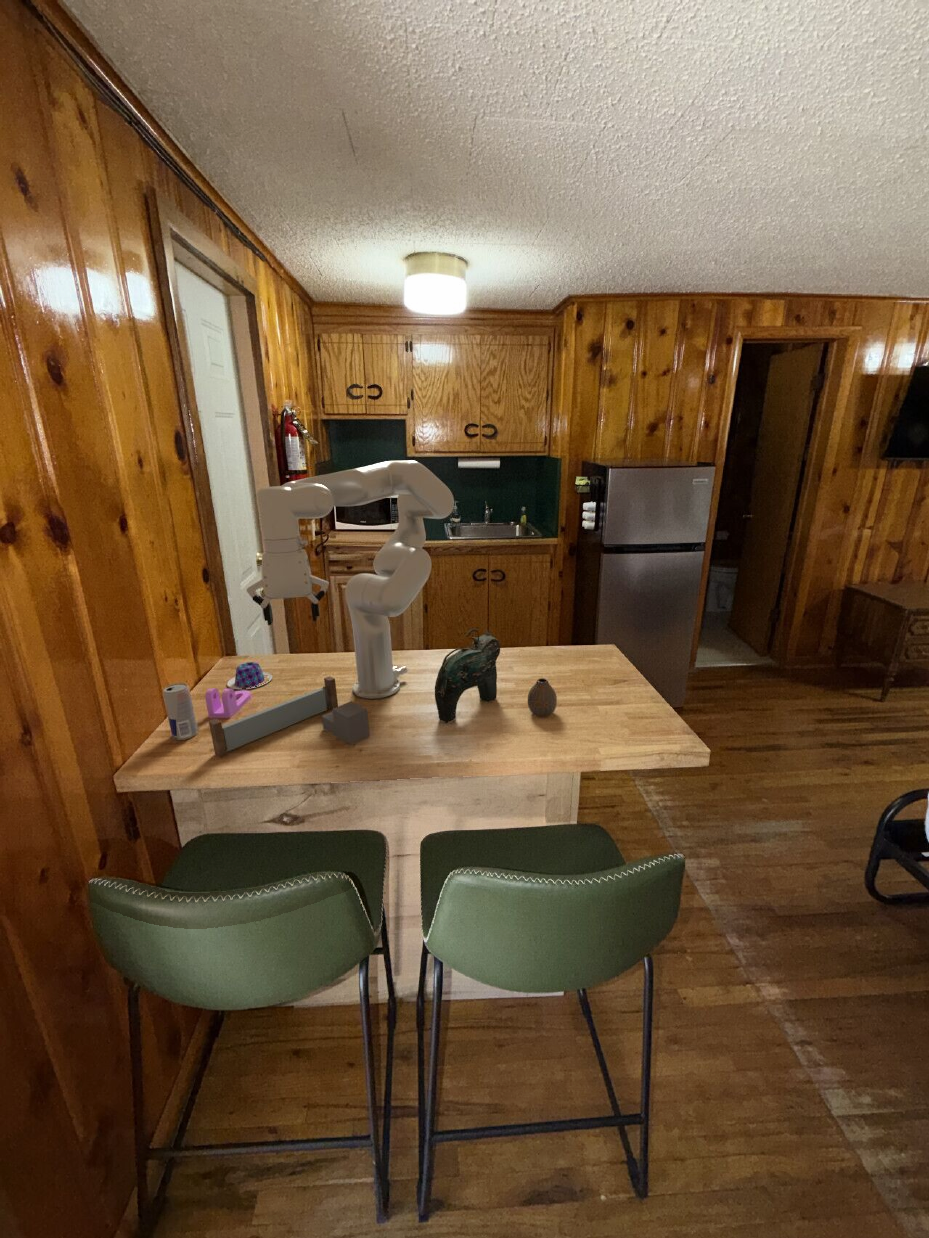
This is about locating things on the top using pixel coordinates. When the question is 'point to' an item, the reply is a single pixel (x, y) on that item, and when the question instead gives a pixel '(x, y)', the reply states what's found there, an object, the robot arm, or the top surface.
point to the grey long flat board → (274, 718)
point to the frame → (217, 726)
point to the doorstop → (347, 722)
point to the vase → (542, 698)
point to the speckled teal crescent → (467, 674)
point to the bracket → (225, 702)
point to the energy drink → (180, 711)
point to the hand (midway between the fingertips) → (293, 621)
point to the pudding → (248, 676)
